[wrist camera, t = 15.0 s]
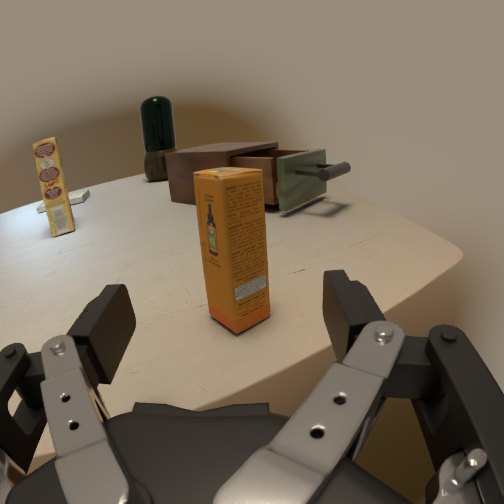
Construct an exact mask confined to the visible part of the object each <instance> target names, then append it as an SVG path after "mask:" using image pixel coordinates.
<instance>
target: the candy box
mask: <svg viewBox="0 0 504 504" xmlns="http://www.w3.org/2000/svg"><path fill="white" fill-rule="evenodd" d="M33 149H34V156H35V161H36V167H37V172H38V177H39V182H40V187H41V191H42V196H43V200H44V204H45V208H46V212H47V216H48V220H49V224H50V228H51V231H52V235H53V237H55V236H58V235H61V234H64V233H67V232H70V231H74V218H73V214H72V210H71V205H70V201H69V196H68V191H67V187H66V182H65V177H64V171H63V165H62V160H61V155H60V149H59V143H58V138H56V137H52V138H49V139H45V140H42V141H39V142H36V143H33Z"/></svg>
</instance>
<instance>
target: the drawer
mask: <svg viewBox="0 0 504 504" xmlns="http://www.w3.org/2000/svg"><path fill="white" fill-rule="evenodd" d="M230 160H231V167H237V168H251V169H262V170H263V172H262V174H263V191H264V204H271V205H275V204H277V203H279V210H285V211H287V210H289V209H292V208H294V207H296V206H298V205H300V204H302V203H304V202H306V201H309V200H311V199H313V198H315V197H317V196H319V195H321V194H323V193H326V192H327V191H326V181H328V180H330V179H333V178H336V177H338V176H341V175H343V174H346V173H348V172H349V171H350V168H351V167H350V165H349V163H347V162H342V163H339V164H336V165H333V164H332V165H331V164H326V152H325V149H316V150H311V151H309V150H287V149H262V150H257V151H252V152H247V153H242V154H237V155H232V156H230Z"/></svg>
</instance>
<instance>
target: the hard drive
mask: <svg viewBox="0 0 504 504" xmlns="http://www.w3.org/2000/svg"><path fill="white" fill-rule="evenodd" d="M68 196H69V201H70V205H72V204H76V203H81V202H84V201H85V200H86V199H87V198H88V197H89V196H90V192H89V190H86V191H81V192H77V193H73V194H69V195H68ZM44 211H46V208H45V204H44V202H43V203H42V204H41V205H39V206H38V207H37V212H38V213H41V212H44Z"/></svg>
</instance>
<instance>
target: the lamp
mask: <svg viewBox="0 0 504 504" xmlns="http://www.w3.org/2000/svg"><path fill="white" fill-rule="evenodd" d="M140 119H141V128H142V136H143V143H144V148H145V151H146V152H145V154H144V157H143V160H144V168H145V175H146V178H147V179H148V180H150V181H162V180H168V174H167V167H166V159H165V153H169V152H174V151H178V149H177V148H176V147H175V145H176V136H175V128H174V118H173V108H172V102H171V100H170V99H169V98H168V97H165V96H161V95H156V96H151V97H148V98H146V99H145V100H144V101H143V102H142V103H141V105H140Z"/></svg>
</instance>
